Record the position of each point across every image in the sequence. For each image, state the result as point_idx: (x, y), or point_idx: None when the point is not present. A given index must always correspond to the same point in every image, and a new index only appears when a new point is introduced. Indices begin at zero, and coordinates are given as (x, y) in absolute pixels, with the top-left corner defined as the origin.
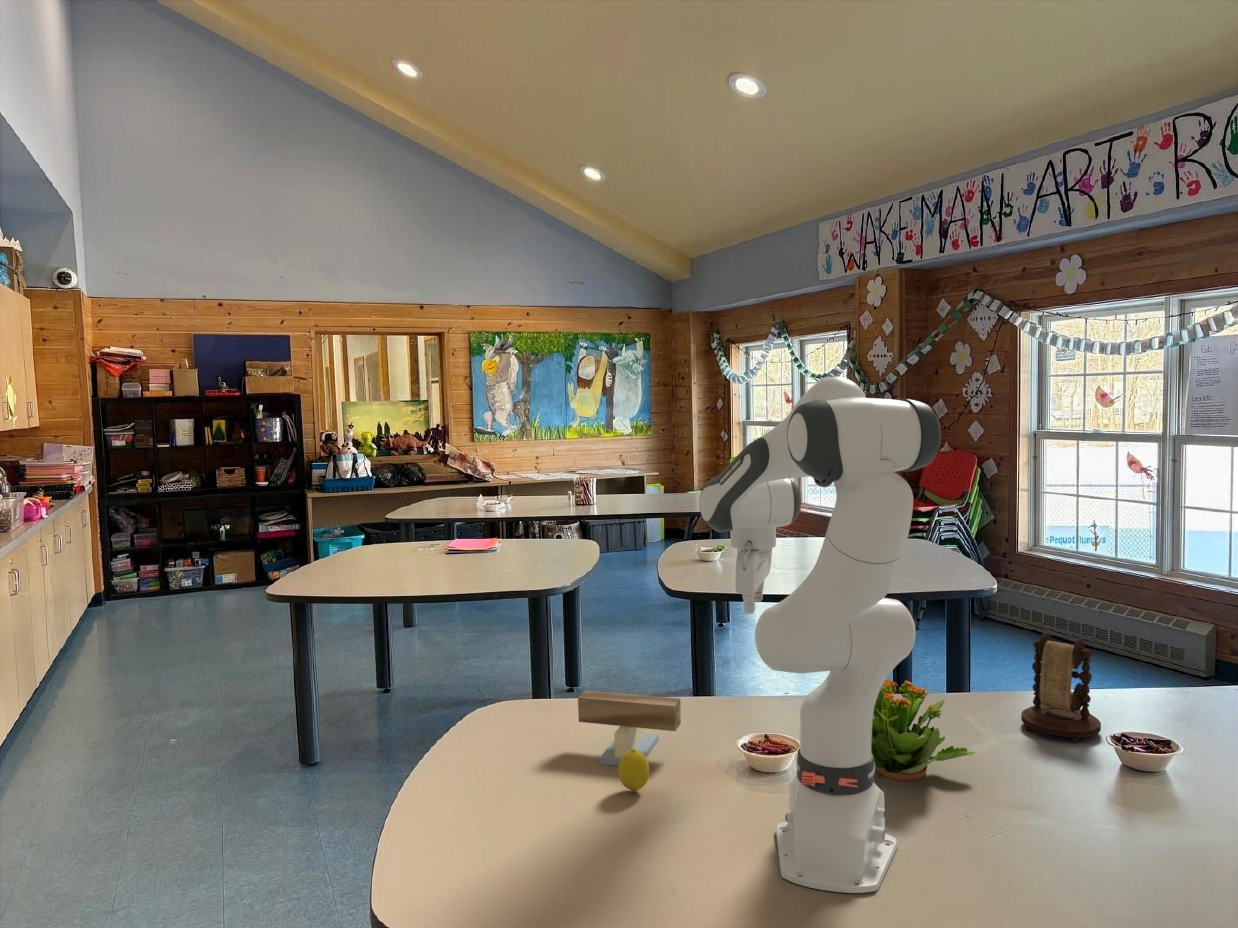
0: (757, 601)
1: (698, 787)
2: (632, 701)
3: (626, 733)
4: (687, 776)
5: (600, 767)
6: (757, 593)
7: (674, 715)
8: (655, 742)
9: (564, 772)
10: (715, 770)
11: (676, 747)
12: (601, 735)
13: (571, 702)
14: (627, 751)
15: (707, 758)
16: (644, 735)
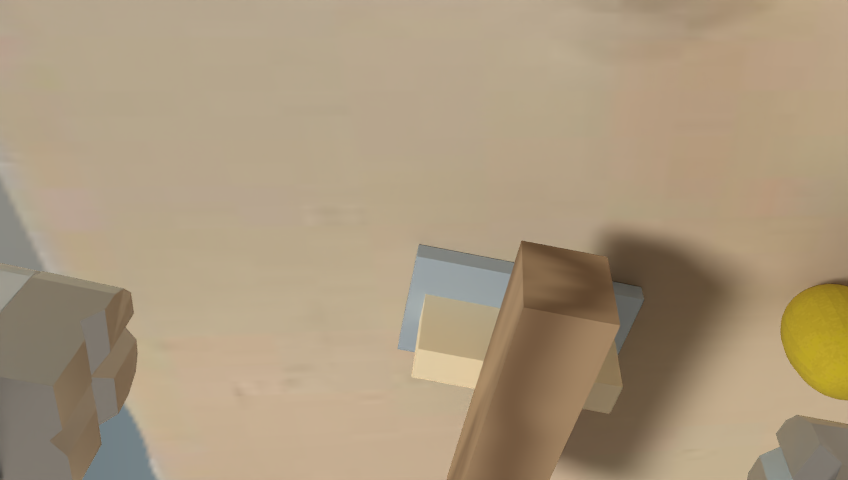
0: (122, 323)
1: (826, 121)
2: (554, 443)
3: (616, 386)
4: (727, 156)
5: (627, 371)
6: (59, 432)
7: (614, 299)
8: (457, 256)
9: (652, 435)
10: (688, 64)
11: (477, 192)
12: (398, 379)
13: (170, 449)
14: (844, 397)
15: (575, 92)
16: (429, 292)
